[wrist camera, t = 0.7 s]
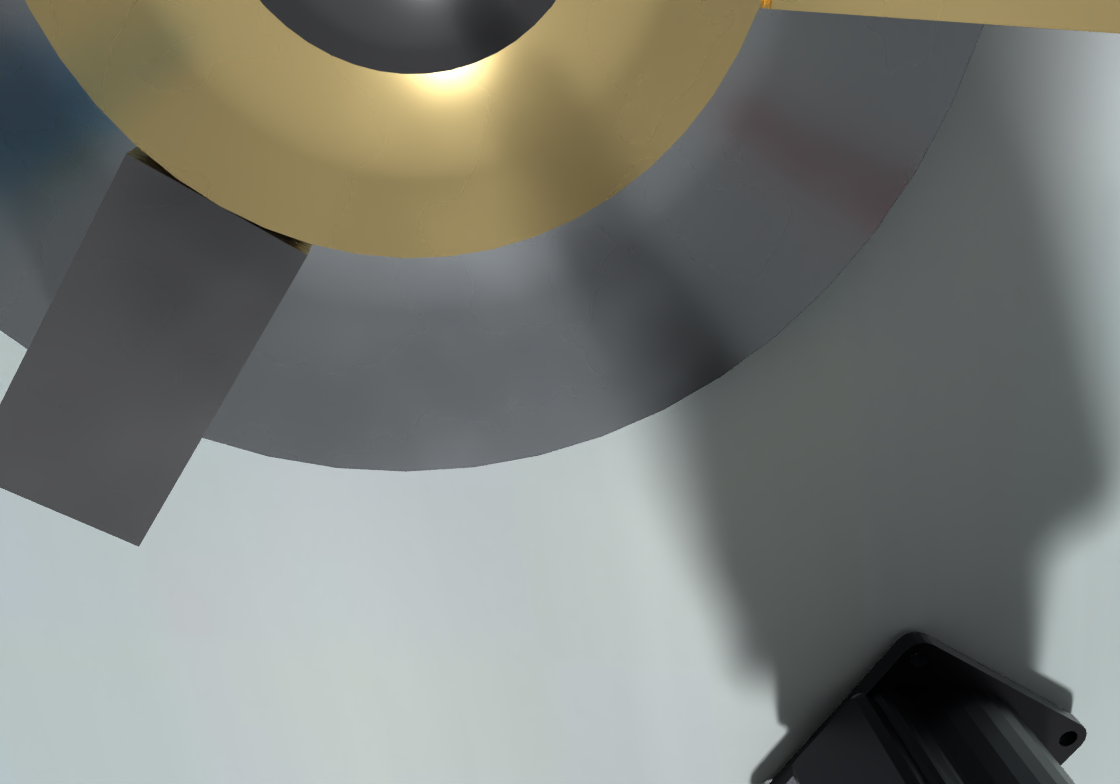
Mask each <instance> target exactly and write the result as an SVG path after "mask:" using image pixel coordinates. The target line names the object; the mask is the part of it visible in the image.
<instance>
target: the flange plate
mask: <svg viewBox="0 0 1120 784" xmlns="http://www.w3.org/2000/svg"><path fill="white" fill-rule="evenodd" d="M982 27H983V24H977V23H963V22H949V21H935V20H920V19H906V18H892V17H877V16H863V15H849V14H834V13H820V12H806V11H791V10H777V9H765V8H759V9H758V11H757V13H756V15H755V18H754V20H753V22H752V24H751V27H750V29H749V31H748V33H747V36H746V38H745V40H744V42H743V44H742V47H741V49H740V51H739V53H738V55H737V56H736V58H735V60H734V61H733V63H732V65H731V66H730V68H729V70H728V71H727V73H726V75H725V77H724V78H723V80H722V82H721V83H720V85H719V87H718V88H717V90H716V92H715V93H714V95H713V96H712V97H711V99H710V100H709V101H708V103H707V104H706V105H705V107H704V108H703V109H702V110H701V112H700V113H699V114H698V116H697V117H696V118H695V120H694V121H693V122H692V123H691V125H690V126H689V127H688V129H687V130H686V131H685V133H684V134H683V135H682V136H681V137H680V138H679V139H678V140H677V141H676V142H675V143H674V144H673V145H672V146H671V147H670V148H669V149H668V150H667V151H666V152H665V153H664V154H663V155H662V156H661V157H660V158H659V159H658V160H657V161H656V162H655V163H654V164H653V165H652V166H651V167H650V168H649V169H647V170H646V171H645V172H644V173H642V174H641V175H640V176H639V177H637V178H636V179H635V180H633V181H632V182H631V183H630V184H628V185H627V186H626V187H625V188H623V189H622V190H621V191H620V192H618V193H617V194H616V195H614V196H613V197H611V198H609V199H608V200H606V201H604V202H603V203H601V204H599V205H598V206H596V207H595V208H593V209H591V210H590V211H588V212H586V213H585V214H583V215H581V216H580V217H578V218H576V219H574V220H572V221H570V222H567V223H565V224H563V225H561V226H558V227H556V228H554V229H552V230H549V231H547V232H545V233H543V234H540V235H538V236H536V237H532V238H529V239H526V240H522V241H519V242H516V243H512V244H509V245H506V246H502V247H499V248H496V249H492V250H486V251H480V252H474V253H468V254H461V255H455V256H449V257H424V258H395V257H384V256H373V255H362V254H354V253H350V252H345V251H341V250H336V249H331V248H327V247H322V246H318V245H313V244H312V246H311V248H310V251H309V253H308V256H307V257H306V259H305V261H304V263H303V264H302V266H301V268H300V269H299V271H298V273H297V275H296V276H295V278H294V280H293V282H292V283H291V285H290V287H289V288H288V290H287V292H286V294H285V295H284V297H283V299H282V300H281V302H280V304H279V306H278V307H277V309H276V311H275V313H274V314H273V316H272V318H271V319H270V321H269V323H268V325H267V326H266V328H265V330H264V332H263V333H262V335H261V337H260V338H259V340H258V342H257V344H256V345H255V347H254V349H253V350H252V352H251V354H250V356H249V357H248V359H247V361H246V363H245V364H244V366H243V368H242V369H241V371H240V373H239V375H238V376H237V378H236V380H235V382H234V383H233V385H232V387H231V388H230V390H229V392H228V394H227V395H226V397H225V399H224V400H223V402H222V404H221V406H220V407H219V409H218V411H217V413H216V414H215V416H214V418H213V419H212V421H211V423H210V425H209V426H208V428H207V430H206V432H205V433H204V435H203V437H202V438H205V439H209V440H212V441H216V442H219V443H223V444H227V445H230V446H234V447H237V448H241V449H244V450H248V451H251V452H255V453H258V454H262V455H265V456H269V457H275V458H281V459H287V460H293V461H299V462H305V463H311V464H317V465H323V466H329V467H335V468H350V469H369V470H389V471H421V470H437V469H452V468H468V467H477V466H483V465H488V464H494V463H499V462H505V461H511V460H516V459H522V458H527V457H533V456H538V455H542V454H545V453H549V452H552V451H555V450H558V449H562V448H565V447H568V446H572V445H575V444H578V443H582V442H585V441H588V440H592V439H595V438H598V437H601V436H604V435H606V434H609V433H611V432H613V431H616V430H618V429H620V428H622V427H625V426H627V425H629V424H632V423H634V422H636V421H639V420H641V419H643V418H646V417H648V416H650V415H652V414H655V413H657V412H659V411H662V410H664V409H665V408H667V407H669V406H671V405H672V404H674V403H676V402H678V401H679V400H681V399H683V398H684V397H686V396H688V395H690V394H691V393H693V392H695V391H697V390H698V389H700V388H702V387H704V386H705V385H707V384H709V383H710V382H712V381H714V380H716V379H717V378H719V377H721V376H722V375H724V374H725V373H726V372H728V371H729V370H730V369H732V368H733V367H734V366H736V365H737V364H738V363H740V362H741V361H742V360H744V359H745V358H746V357H748V356H749V355H751V354H752V353H753V352H755V351H756V350H757V349H759V348H760V347H761V346H763V345H764V344H765V343H767V342H768V341H769V340H771V339H772V338H773V337H775V336H776V335H777V334H778V333H779V332H780V331H781V330H782V329H784V328H785V327H786V326H787V325H788V324H789V323H790V322H791V321H792V320H793V319H794V318H795V317H796V316H797V315H799V314H800V313H801V312H802V311H803V310H804V309H805V308H806V307H807V306H808V305H809V304H810V303H811V302H812V301H813V300H815V299H816V298H817V297H818V296H819V295H820V294H821V293H822V292H823V291H824V290H825V289H826V288H827V287H828V286H829V285H830V284H831V283H832V281H833V280H834V279H835V278H836V277H837V276H838V274H839V273H840V272H841V271H842V270H843V269H844V267H845V266H846V265H847V264H848V263H849V262H850V260H851V259H852V258H853V257H854V256H855V254H856V253H857V252H858V251H859V250H860V249H861V247H862V246H863V245H864V244H865V243H866V242H867V240H868V239H869V238H870V237H871V236H872V235H873V233H874V232H875V231H876V229H877V228H878V226H879V225H880V223H881V222H882V220H883V219H884V217H885V216H886V214H887V213H888V211H889V210H890V208H891V207H892V206H893V204H894V203H895V201H896V200H897V198H898V197H899V195H900V194H901V192H902V191H903V189H904V188H905V186H906V185H907V183H908V182H909V181H910V179H911V178H912V176H913V175H914V173H915V172H916V170H917V168H918V166H919V164H920V162H921V160H922V159H923V157H924V155H925V153H926V151H927V149H928V147H929V145H930V144H931V142H932V140H933V138H934V136H935V134H936V132H937V130H938V128H939V127H940V125H941V123H942V121H943V119H944V117H945V115H946V113H947V112H948V110H949V108H950V106H951V104H952V102H953V99H954V97H955V94H956V92H957V89H958V87H959V84H960V82H961V79H962V77H963V74H964V72H965V69H966V67H967V64H968V62H969V59H970V57H971V54H972V52H973V49H974V47H975V44H976V42H977V39H978V37H979V34H980V32H981V30H982ZM136 147H137V146H136V145H135V144H134V143H133V142H132V141H131V140H130V139H129V138H128V137H127V136H126V135H125V134H124V133H123V132H122V131H121V130H120V129H119V128H118V127H117V126H116V125H115V124H114V123H113V122H112V121H111V120H110V119H109V118H108V116H107V115H106V114H105V113H104V112H103V111H102V110H101V109H100V108H99V107H98V106H97V105H96V104H95V103H94V102H93V100H92V99H91V98H90V97H89V95H88V94H87V93H86V91H85V90H84V89H83V88H82V86H81V85H80V84H79V82H78V81H77V80H76V79H75V77H74V76H73V75H72V73H71V72H70V71H69V70H68V68H67V67H66V66H65V64H64V63H63V62H62V61H61V59H60V58H59V56H58V55H57V53H56V51H55V50H54V48H53V47H52V45H51V43H50V42H49V40H48V38H47V37H46V35H45V34H44V32H43V30H42V29H41V27H40V25H39V24H38V22H37V21H36V19H35V17H34V16H33V14H32V12H31V11H30V9H29V7H28V5H27V3H26V1H25V0H0V330H1V331H2V332H4V333H5V334H7V335H8V336H9V337H11V338H12V339H14V340H15V341H17V342H18V343H20V344H21V345H22V346H24V347H25V348H27V349H28V348H29V346H30V344H31V342H32V340H33V338H34V336H35V334H36V332H37V330H38V328H39V326H40V324H41V322H42V320H43V318H44V316H45V314H46V312H47V310H48V308H49V306H50V304H51V302H52V300H53V298H54V296H55V294H56V292H57V290H58V288H59V286H60V284H61V282H62V280H63V278H64V276H65V274H66V272H67V270H68V268H69V266H70V264H71V262H72V260H73V258H74V256H75V254H76V252H77V250H78V248H79V246H80V244H81V242H82V240H83V238H84V236H85V234H86V232H87V230H88V228H89V226H90V224H91V222H92V220H93V218H94V216H95V214H96V212H97V210H98V208H99V206H100V204H101V203H102V201H103V199H104V197H105V195H106V193H107V191H108V189H109V187H110V185H111V183H112V181H113V179H114V177H115V175H116V173H117V171H118V169H119V167H120V165H121V163H122V161H123V159H124V157H125V155H126V153H128V152H129V151H131V150H133V149H134V148H136Z"/></svg>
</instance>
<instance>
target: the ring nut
mask: <svg viewBox="0 0 1120 784" xmlns="http://www.w3.org/2000/svg"><path fill="white" fill-rule="evenodd" d="M25 1H26V3H27V5H28V7H29V9H30V11H31V12H32V14H33V16H34V17H35V19H36V21H37V22H38V24H39V25H40V27H41V29H42V30H43V32H44V34H45V35H46V37H47V38H48V40H49V42H50V43H51V45H52V47H53V48H54V50H55V51H56V53H57V55H58V56H59V58H60V59H61V61H62V62H63V63H64V64H65V66H66V67H67V68H68V70H69V71H70V72H71V73H72V75H73V76H74V77H75V79H76V80H77V81H78V82H79V84H80V85H81V86H82V88H83V89H84V90H85V91H86V93H87V94H88V95H89V97H90V98H91V99H92V100H93V102H94V103H95V104H96V105H97V106H98V107H99V108H100V109H101V110H102V111H103V112H104V113H105V114H106V115H107V116H108V118H109V119H110V120H111V121H112V122H113V123H114V124H115V125H116V126H117V127H118V128H119V129H120V130H121V131H122V132H123V133H124V134H125V135H126V136H127V137H128V138H129V139H130V140H131V141H132V142H133V143H134V144H135V145H136V146H137V147H136V148H134V149H133V150H131V151H129V152H128V153H126V155H125V157H124V159H123V161H122V163H121V165H120V167H119V169H118V171H117V173H116V175H115V177H114V179H113V181H112V183H111V185H110V187H109V189H108V191H107V193H106V195H105V197H104V199H103V201H102V203H101V204H100V206H99V208H98V210H97V212H96V214H95V216H94V218H93V220H92V222H91V224H90V226H89V228H88V230H87V232H86V234H85V236H84V238H83V240H82V242H81V244H80V246H79V248H78V250H77V252H76V254H75V256H74V258H73V260H72V262H71V264H70V266H69V268H68V270H67V272H66V274H65V276H64V278H63V280H62V282H61V284H60V286H59V288H58V290H57V292H56V294H55V296H54V298H53V300H52V302H51V304H50V306H49V308H48V310H47V312H46V314H45V316H44V318H43V320H42V322H41V324H40V326H39V328H38V330H37V332H36V334H35V336H34V338H33V340H32V342H31V344H30V346H29V348H28V350H27V352H26V354H25V356H24V358H23V360H22V362H21V364H20V366H19V368H18V370H17V372H16V374H15V376H14V378H13V380H12V382H11V384H10V386H9V388H8V390H7V392H6V394H5V396H4V398H3V400H2V402H1V404H0V488H3V489H5V490H7V491H10V492H12V493H14V494H17V495H19V496H21V497H24V498H26V499H29V500H31V501H33V502H36V503H38V504H40V505H43V506H45V507H47V508H50V509H52V510H54V511H57V512H59V513H61V514H64V515H66V516H69V517H71V518H73V519H76V520H78V521H80V522H83V523H85V524H87V525H90V526H92V527H94V528H97V529H99V530H101V531H104V532H106V533H108V534H111V535H113V536H116V537H118V538H120V539H123V540H125V541H127V542H130V543H132V544H134V545H137V546H139V545H140V544H141V542H142V540H143V538H144V537H145V535H146V533H147V532H148V530H149V528H150V526H151V525H152V523H153V521H154V519H155V518H156V516H157V514H158V513H159V511H160V509H161V507H162V506H163V504H164V502H165V501H166V499H167V497H168V495H169V494H170V492H171V490H172V488H173V487H174V485H175V483H176V482H177V480H178V478H179V476H180V475H181V473H182V471H183V469H184V468H185V466H186V464H187V463H188V461H189V459H190V457H191V456H192V454H193V452H194V450H195V449H196V447H197V445H198V444H199V442H200V440H201V438H202V437H203V435H204V433H205V432H206V430H207V428H208V426H209V425H210V423H211V421H212V419H213V418H214V416H215V414H216V413H217V411H218V409H219V407H220V406H221V404H222V402H223V400H224V399H225V397H226V395H227V394H228V392H229V390H230V388H231V387H232V385H233V383H234V382H235V380H236V378H237V376H238V375H239V373H240V371H241V369H242V368H243V366H244V364H245V363H246V361H247V359H248V357H249V356H250V354H251V352H252V350H253V349H254V347H255V345H256V344H257V342H258V340H259V338H260V337H261V335H262V333H263V332H264V330H265V328H266V326H267V325H268V323H269V321H270V319H271V318H272V316H273V314H274V313H275V311H276V309H277V307H278V306H279V304H280V302H281V300H282V299H283V297H284V295H285V294H286V292H287V290H288V288H289V287H290V285H291V283H292V282H293V280H294V278H295V276H296V275H297V273H298V271H299V269H300V268H301V266H302V264H303V263H304V261H305V259H306V257H307V256H308V253H309V251H310V248H311V246H312V244H313V245H318V246H322V247H327V248H331V249H336V250H341V251H345V252H350V253H354V254H362V255H373V256H384V257H395V258H424V257H449V256H455V255H461V254H468V253H474V252H480V251H486V250H492V249H496V248H499V247H502V246H506V245H509V244H512V243H516V242H519V241H522V240H526V239H529V238H532V237H536V236H538V235H540V234H543V233H545V232H547V231H549V230H552V229H554V228H556V227H558V226H561V225H563V224H565V223H567V222H570V221H572V220H574V219H576V218H578V217H580V216H581V215H583V214H585V213H586V212H588V211H590V210H591V209H593V208H595V207H596V206H598V205H599V204H601V203H603V202H604V201H606V200H608V199H609V198H611V197H613V196H614V195H616V194H617V193H618V192H620V191H621V190H622V189H623V188H625V187H626V186H627V185H628V184H630V183H631V182H632V181H633V180H635V179H636V178H637V177H639V176H640V175H641V174H642V173H644V172H645V171H646V170H647V169H649V168H650V167H651V166H652V165H653V164H654V163H655V162H656V161H657V160H658V159H659V158H660V157H661V156H662V155H663V154H664V153H665V152H666V151H667V150H668V149H669V148H670V147H671V146H672V145H673V144H674V143H675V142H676V141H677V140H678V139H679V138H680V137H681V136H682V135H683V134H684V133H685V131H686V130H687V129H688V127H689V126H690V125H691V123H692V122H693V121H694V120H695V118H696V117H697V116H698V114H699V113H700V112H701V110H702V109H703V108H704V107H705V105H706V104H707V103H708V101H709V100H710V99H711V97H712V96H713V95H714V93H715V92H716V90H717V88H718V87H719V85H720V83H721V82H722V80H723V78H724V77H725V75H726V73H727V71H728V70H729V68H730V66H731V65H732V63H733V61H734V60H735V58H736V56H737V55H738V53H739V51H740V49H741V47H742V44H743V42H744V40H745V38H746V36H747V33H748V31H749V29H750V27H751V24H752V22H753V20H754V18H755V15H756V13H757V11H758V9H759V8H765V9H777V10H791V11H806V12H820V13H834V14H849V15H863V16H877V17H892V18H906V19H920V20H935V21H949V22H963V23H977V24H992V25H1006V26H1020V27H1035V28H1049V29H1063V30H1078V31H1092V32H1106V33H1120V0H25Z"/></svg>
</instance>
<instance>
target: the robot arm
mask: <svg viewBox="0 0 1120 784" xmlns="http://www.w3.org/2000/svg"><path fill="white" fill-rule="evenodd" d="M919 651H920V652H919ZM916 652H919V653H918V654H917V655H916V656H913V657H911V656H912V655H913V654H915V653H916ZM1085 738H1086V729H1085V728H1084V727H1083V726H1082V724H1081V723H1080V722H1079V721H1078V720H1077V719H1076V718H1075V717H1074V716H1073V715H1072V714H1071V713H1069V712H1067V711H1065V710H1063V709H1061V708H1060V707H1058V706H1056V705H1054V704H1052V703H1050V702H1049V701H1047V700H1045V699H1043V698H1041V697H1039V696H1038V695H1036V694H1034V693H1032V692H1030V691H1028V690H1027V689H1025V688H1023V687H1021V686H1019V685H1017V684H1016V683H1014V682H1012V681H1010V680H1008V679H1007V678H1005V677H1003V676H1001V675H999V674H997V673H996V672H994V671H992V670H990V669H988V668H986V667H985V666H983V665H981V664H979V663H977V662H975V661H974V660H972V659H970V658H968V657H966V656H964V655H963V654H961V653H959V652H957V651H955V650H953V649H952V648H950V647H948V646H946V645H944V644H942V643H941V642H939V641H937V640H935V639H933V638H931V637H930V636H928V635H926V634H923V633H920V632H915V633H909V634H907V635H905V636H903V637H902V638H900V639H899V640H898V641H897V642H896V643H895V644H894V645H893V646H892V647H891V649H890V650H889V651H888V652H887V653H886V654H885V655H884V656H883V658H882V659H881V660H880V661H879V662H878V663H877V664H876V665H875V667H874V668H873V669H872V670H871V671H870V672H869V673H868V674H867V675H866V677H865V678H864V679H863V680H862V681H861V682H860V683H859V684H858V686H857V687H856V688H855V689H854V690H853V691H852V692H851V693H850V694H849V696H848V697H847V698H846V699H845V700H844V701H843V702H842V703H841V705H840V706H839V707H838V708H837V709H836V710H835V711H834V712H833V713H832V715H831V716H830V717H829V718H828V719H827V720H826V721H825V722H824V724H823V725H822V726H821V727H820V728H819V729H818V730H817V731H816V733H815V734H814V735H813V736H812V737H811V738H810V739H809V740H808V741H807V743H806V744H805V745H804V746H803V747H802V748H801V749H800V750H799V752H798V753H797V754H796V755H795V756H794V757H793V758H792V759H791V760H790V762H789V763H788V764H787V765H786V766H785V767H784V768H783V769H782V771H781V772H780V773H779V774H778V775H777V776H776V777H775V778H774V779H773V781H772V782H771V783H770V784H1075V783H1074V782H1073V780H1072V779H1071V778H1070V777H1069V775H1068V774H1067V773H1066V772H1065V770H1064V769H1063V768H1062V767H1061V765H1062V764H1063V763H1064V762H1065V761H1066V760H1067V759H1068V758H1069V757H1070V756H1071V755H1072V754H1073V753H1074V752H1075V751H1076V750H1077V749H1078V748H1079V747H1080V746H1081V744H1082V743H1083V742H1084V740H1085Z"/></svg>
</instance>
